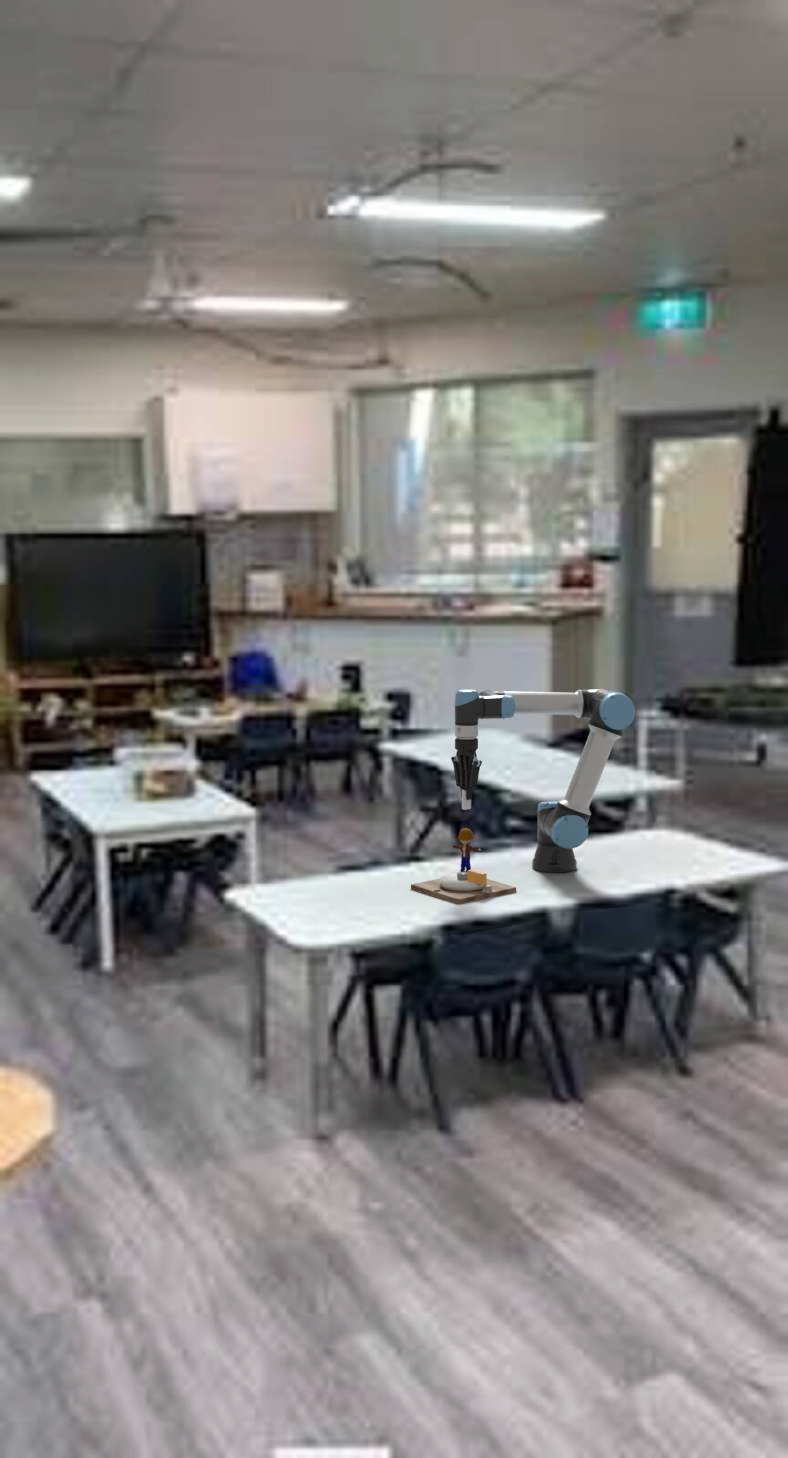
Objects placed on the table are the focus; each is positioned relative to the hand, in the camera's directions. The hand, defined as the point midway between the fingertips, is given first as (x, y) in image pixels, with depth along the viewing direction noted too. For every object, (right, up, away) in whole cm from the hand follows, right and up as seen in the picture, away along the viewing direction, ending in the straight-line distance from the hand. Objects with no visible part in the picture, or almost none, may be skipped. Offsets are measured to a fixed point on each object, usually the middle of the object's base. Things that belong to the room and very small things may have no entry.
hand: (466, 808), depth 470 cm
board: (-1, -26, -8) cm, 27 cm away
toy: (+1, -22, +18) cm, 28 cm away
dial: (-1, -24, -9) cm, 26 cm away
